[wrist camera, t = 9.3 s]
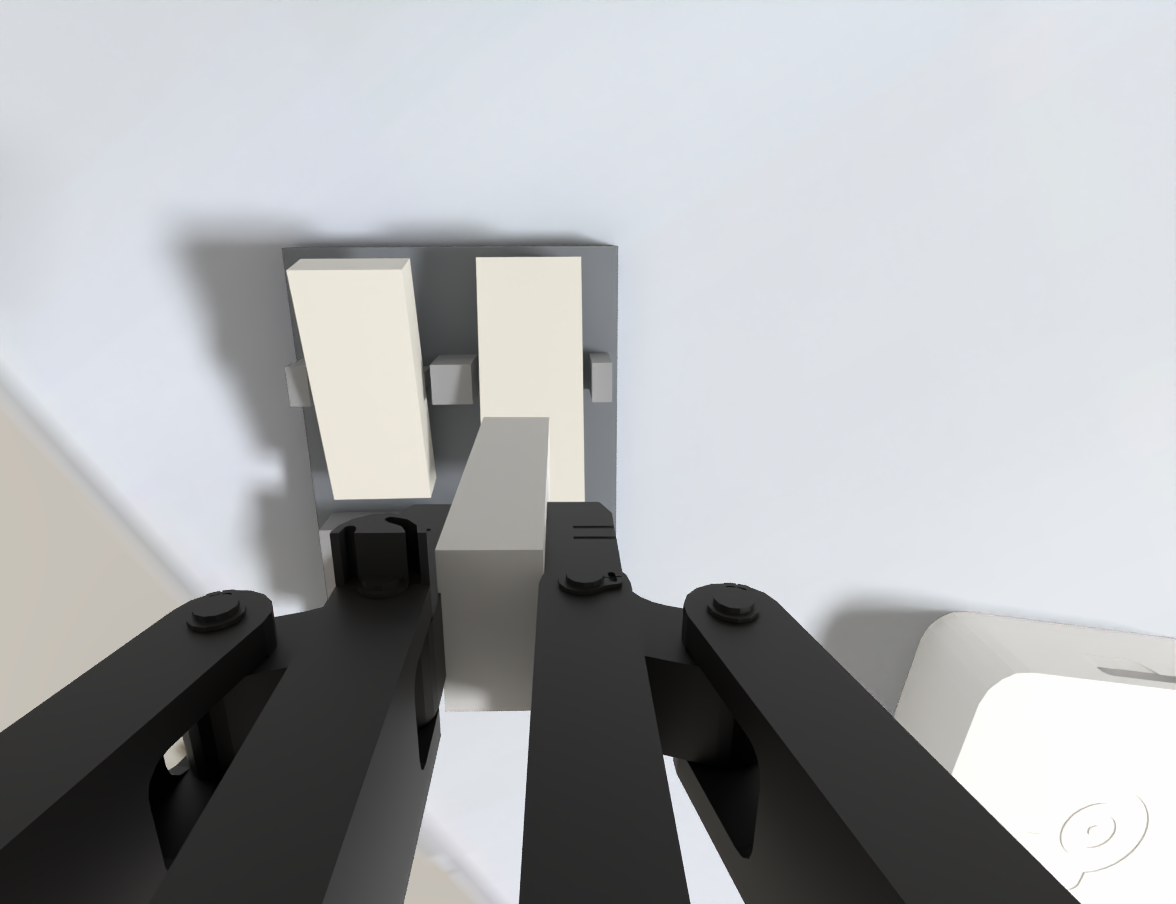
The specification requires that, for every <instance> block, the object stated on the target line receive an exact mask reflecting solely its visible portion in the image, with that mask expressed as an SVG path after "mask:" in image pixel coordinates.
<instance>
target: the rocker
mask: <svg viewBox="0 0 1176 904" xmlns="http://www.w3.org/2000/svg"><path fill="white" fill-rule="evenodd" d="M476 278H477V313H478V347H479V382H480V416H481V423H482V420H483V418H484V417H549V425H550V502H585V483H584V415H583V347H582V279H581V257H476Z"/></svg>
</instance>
